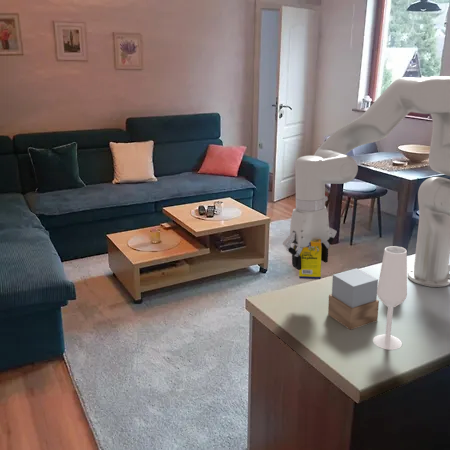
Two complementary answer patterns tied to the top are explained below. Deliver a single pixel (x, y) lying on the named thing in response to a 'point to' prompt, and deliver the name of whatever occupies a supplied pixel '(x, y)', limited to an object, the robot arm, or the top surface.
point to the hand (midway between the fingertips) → (310, 264)
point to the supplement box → (311, 261)
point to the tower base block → (353, 313)
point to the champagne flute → (392, 291)
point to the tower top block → (354, 287)
